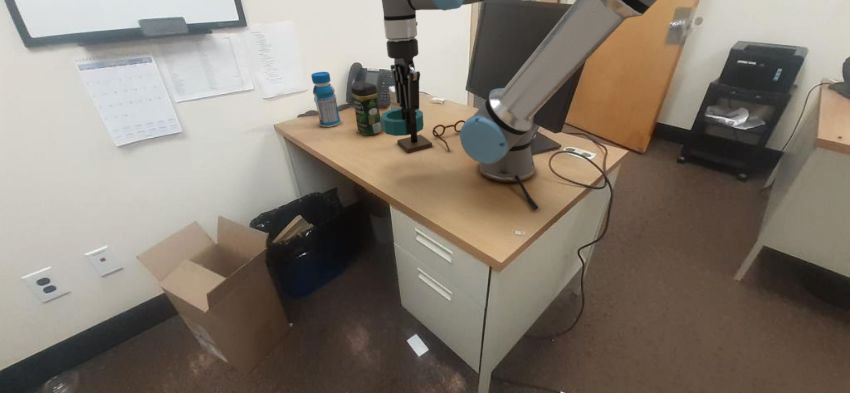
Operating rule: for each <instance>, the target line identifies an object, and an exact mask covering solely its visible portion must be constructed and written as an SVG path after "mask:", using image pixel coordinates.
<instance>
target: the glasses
mask: <svg viewBox="0 0 850 393" xmlns="http://www.w3.org/2000/svg"><path fill="white" fill-rule="evenodd" d="M465 122H466V120H463V119H461V120H458V121H456V122H455V123H454V124H448V125H443V124H437V125H435V126H434V127H433V128H432V136H434V137H435V138H438V139H439V140H440V141H441V142H443V143H444V144H445V146H446V148H447V151H448V152H451V150H450V147H449V144H448V142H447V141H446V139H444V138H442V136H443V135H444V134H445V131H446V129H447V128H453V129H454V132H456V133H460V131H461V129H460V130H457V125H458V124H459V123H463V124H464V123H465ZM439 127H441V128H442V132H441V133H438V131H437V130H436V129H437V128H439Z"/></svg>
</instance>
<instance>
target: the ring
mask: <svg viewBox="0 0 850 393" xmlns="http://www.w3.org/2000/svg"><path fill="white" fill-rule="evenodd" d="M415 113H416V126H417V133H420V132H421V131H423V130H424V113H423V111H422V110H420V109H417V110H415ZM380 120H381V126H382V131H381V132H383V133H384V134H386V135H388V136H393V137H400V136H401V137H405V136H408V135H407V130H406V119H404V120H402V114H401V108H398V109H393V110H391V109H390V110H386V111H384V112H383V113H381V115H380Z"/></svg>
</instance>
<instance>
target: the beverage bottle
mask: <svg viewBox="0 0 850 393" xmlns="http://www.w3.org/2000/svg"><path fill="white" fill-rule="evenodd" d="M311 82H312V84H313V85H314V86H313V89H312V94H313V95H314V97H313V101H314V103H315V107H316V112H317V115H318V120H319V125H320V126H321V127H324V128H332V127H335V126H338V125H339V124H340V123H341V118H340V114H339V109H338V103H337V95H336V94H335V88H334V86H333V85H332V84H331V76H330V72H329V71H317V72H313V73H311Z"/></svg>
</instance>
